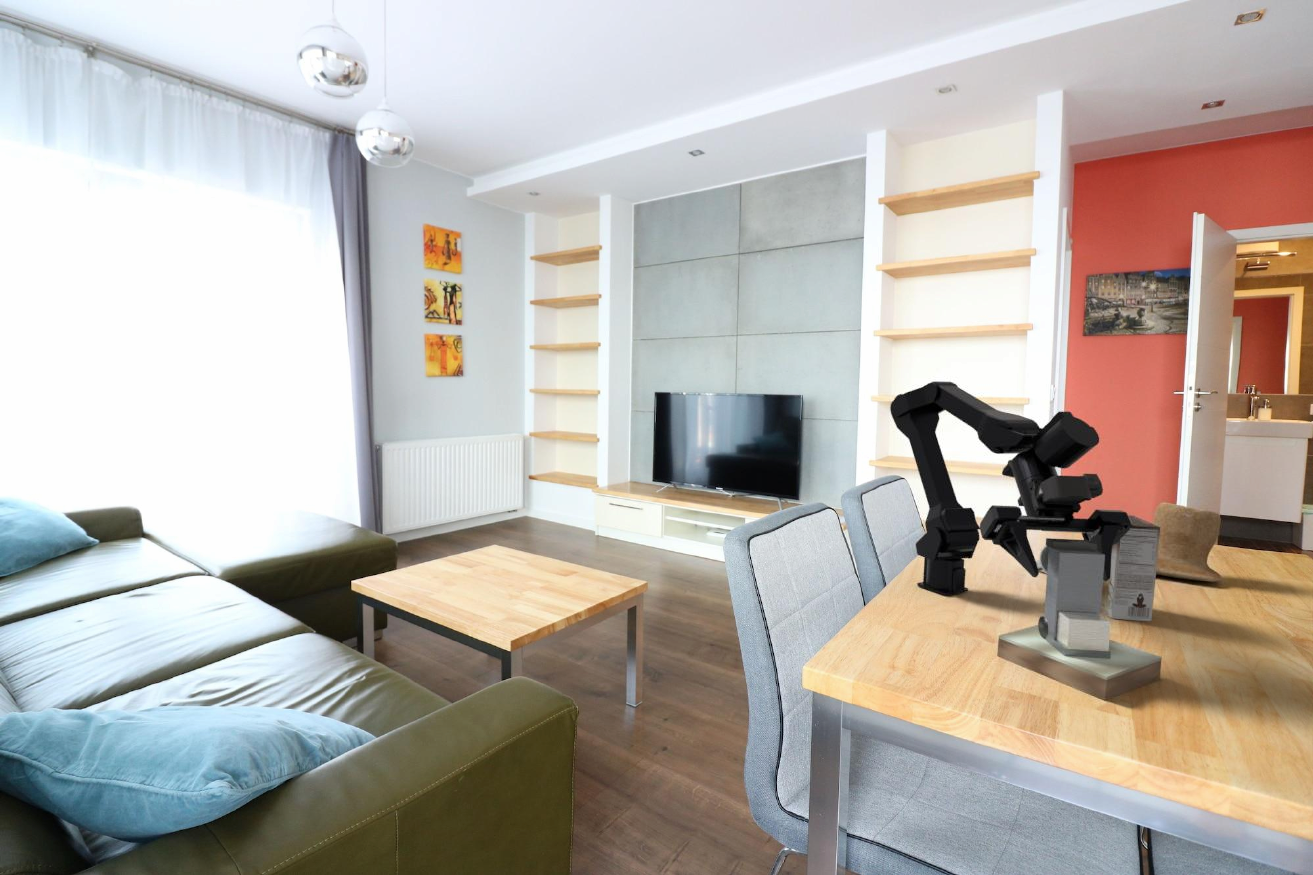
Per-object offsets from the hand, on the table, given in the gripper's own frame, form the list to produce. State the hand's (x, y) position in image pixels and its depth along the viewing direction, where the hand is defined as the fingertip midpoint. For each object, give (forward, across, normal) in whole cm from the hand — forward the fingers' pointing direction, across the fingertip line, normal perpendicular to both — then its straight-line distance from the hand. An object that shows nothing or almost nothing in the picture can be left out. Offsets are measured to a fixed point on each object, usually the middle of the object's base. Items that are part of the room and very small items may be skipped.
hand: (1071, 577), depth 87 cm
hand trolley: (+7, 0, +6) cm, 9 cm away
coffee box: (-8, +20, +25) cm, 33 cm away
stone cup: (-25, +44, +43) cm, 66 cm away
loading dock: (+10, +1, +7) cm, 12 cm away
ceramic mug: (-22, +20, +40) cm, 50 cm away
